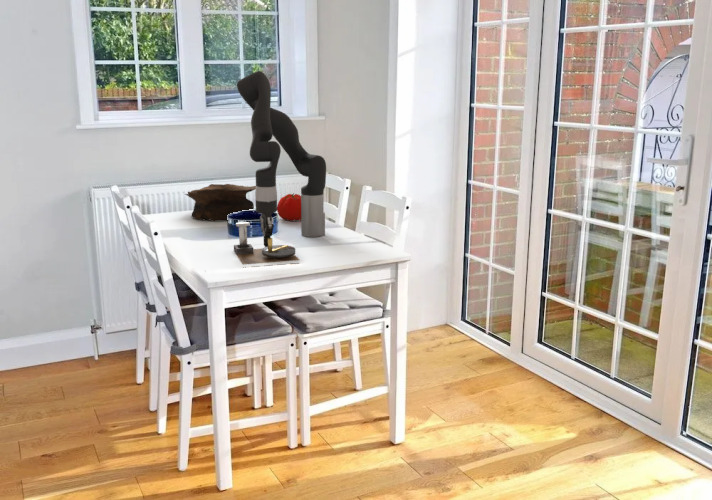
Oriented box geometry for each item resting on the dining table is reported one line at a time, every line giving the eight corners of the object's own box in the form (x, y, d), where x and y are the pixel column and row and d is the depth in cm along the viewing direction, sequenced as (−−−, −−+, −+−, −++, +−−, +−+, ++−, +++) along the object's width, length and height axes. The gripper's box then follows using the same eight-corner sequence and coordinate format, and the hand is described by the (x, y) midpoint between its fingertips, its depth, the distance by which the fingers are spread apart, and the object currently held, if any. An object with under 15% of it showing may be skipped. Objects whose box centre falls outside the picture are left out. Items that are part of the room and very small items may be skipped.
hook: (249, 250, 263) (248, 221, 260) (250, 252, 260) (250, 223, 257) (236, 251, 261) (235, 222, 259) (237, 253, 259) (236, 224, 256)
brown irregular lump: (176, 224, 318) (173, 191, 315) (202, 214, 350) (198, 183, 348) (250, 221, 313) (247, 187, 310) (269, 210, 346) (266, 179, 343)
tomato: (280, 216, 330) (280, 191, 327) (310, 217, 328) (310, 192, 325) (273, 222, 317) (273, 196, 314) (304, 223, 315) (304, 197, 312)
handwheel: (255, 254, 253) (254, 236, 251) (275, 247, 263) (274, 230, 261) (282, 259, 247) (282, 241, 245) (301, 251, 257) (301, 234, 255)
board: (287, 249, 270) (287, 241, 269) (299, 263, 251) (299, 254, 250) (233, 253, 263) (233, 244, 262) (242, 267, 245) (242, 258, 244)
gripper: (252, 195, 253) (253, 242, 258) (259, 202, 241) (260, 251, 246) (272, 194, 255) (273, 241, 260) (280, 201, 243) (281, 250, 248)
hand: (267, 246), depth 253 cm, fingers closed
